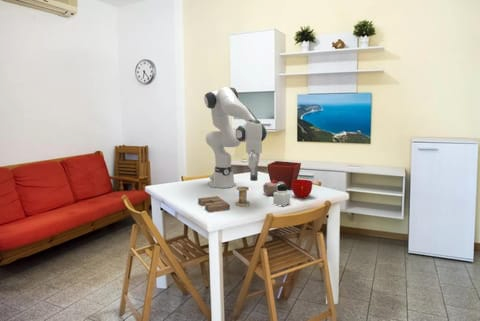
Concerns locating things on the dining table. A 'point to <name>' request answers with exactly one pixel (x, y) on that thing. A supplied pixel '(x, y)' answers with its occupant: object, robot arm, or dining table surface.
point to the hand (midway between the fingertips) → (253, 173)
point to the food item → (271, 187)
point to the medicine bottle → (281, 195)
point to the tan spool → (242, 196)
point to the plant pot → (284, 172)
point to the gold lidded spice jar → (254, 177)
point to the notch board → (214, 204)
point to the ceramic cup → (301, 188)
